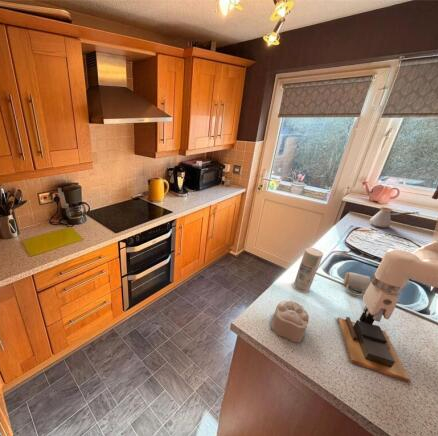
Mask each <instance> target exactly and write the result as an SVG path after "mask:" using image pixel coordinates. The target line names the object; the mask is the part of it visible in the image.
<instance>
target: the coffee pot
mask: <svg viewBox="0 0 438 436" xmlns="http://www.w3.org/2000/svg"><path fill="white" fill-rule="evenodd" d="M391 212H393V209H392V208H389V207H381V206H380V208H379V211H378V212H376V213H375V214H374V215H373V216H372V217H371V218H370V219H369V222H370V224H371V225H372V226H373V227H377V228H383V229H385V228H388V227H391V226H392V218H391V216H396V215H415V214H417V215H418V216H420V212H417V211H416V212H395V213H391Z"/></svg>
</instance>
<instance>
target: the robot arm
mask: <svg viewBox="0 0 438 436" xmlns="http://www.w3.org/2000/svg"><path fill="white" fill-rule="evenodd" d="M410 280H413V281H416V282H418V283H420V284H424V285H425V286H429V287H432V288H436V289H438V239H437V240H435V241H433V242H429V243H428V244H425V245H423V246H421V247H419V248H417V249H416V250H414V251H413V252H410V251H408V250H407V251H406V250H405V249H404V250H403V249H399V248H391V249H388V250H386V252H385V253H384V255H383V257H382V259H381V261H380V263H379V265H378V266H377V269H376V270H375V272H374V274H373V276H372V278H371V279H370V285H369V286H368V288H367V290H366V291H365V293H363V295H362V299H363V302H364V307H363V312H362V313H361V315H360V317H359V319H358V321H362V322H365V323H369V324H372V325H374V324H373V323H374V322H377V323H378V322H379V323H380V322H381V320H382V318H384V319H385V320H386V321H387V320H390V318H391V316H392V315H393V313H394V311H395V308H396V306H397V304H398V300H399V299H400V296H399V295H401V294H402V292H403V291H404V289H405V287H406V285H407V284H408V282H409V281H410Z"/></svg>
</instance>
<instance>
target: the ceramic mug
mask: <svg viewBox="0 0 438 436" xmlns="http://www.w3.org/2000/svg"><path fill="white" fill-rule="evenodd" d="M370 282H371V277H370V276H368V275H364V274H360V273H355V272H352V271H351V272H350V271H347V272H346V273H345V275H344V277H343V281H342V284H343V286H344V287H345V289H346V292H347V293H348V294H350V295H351V296H353V297H363V296H364V293H365V291H366V290H367V288H368V286H369V285H370ZM350 289H351V290H354V291H357V292H360V293H357V294H356V293H354V292H352V291H351V290H350Z"/></svg>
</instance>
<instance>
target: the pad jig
mask: <svg viewBox="0 0 438 436" xmlns="http://www.w3.org/2000/svg"><path fill="white" fill-rule="evenodd" d="M337 322H338V325H339V326H338V327H339V329H340V331H341V334H342V335H341V336H342V338H343V341H344V344H345V346H346V351H347V354H348V357H349V360H350V362H351V363H353V364H356V365H359V366H361V367H364V368H367V369H371V370H373V371H376V372H379V373H382V374H384V375H388V376H391V377H393V378H395V379H399V380H402V381H405V382H410V379H411V378H410V377H409V375H408V372H407V370H406V369H405V367H404V365H403V363H402V362H401V359H400V358H399V356H398V353H397V352H396V350H395V348H394V346H393V344H392V342H391V340H390V338H389V336H388V335H387V332H386V330H382V329H381V330H382V332H383V334H384V336H385V338H386V340H387V342H386V343H383V342H379V341H376V340H373V339H370V338H366V337H363V336H361V338H360V340H359V342H358V340H357V339H358V338H357V335H356V333H355V330H354V325H355V323H356V321H352V320H351V317H350V316H346V317H345V318H341V317H337ZM375 325H376V326H378V325H377V324H375Z"/></svg>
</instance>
